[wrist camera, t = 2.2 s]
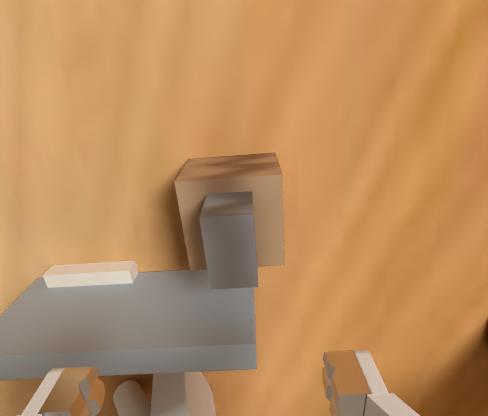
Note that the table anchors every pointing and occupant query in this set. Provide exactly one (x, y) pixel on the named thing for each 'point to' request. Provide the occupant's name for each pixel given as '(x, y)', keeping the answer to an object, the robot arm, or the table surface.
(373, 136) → the table surface
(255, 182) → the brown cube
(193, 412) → the wall hook
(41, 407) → the robot arm
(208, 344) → the wall board
